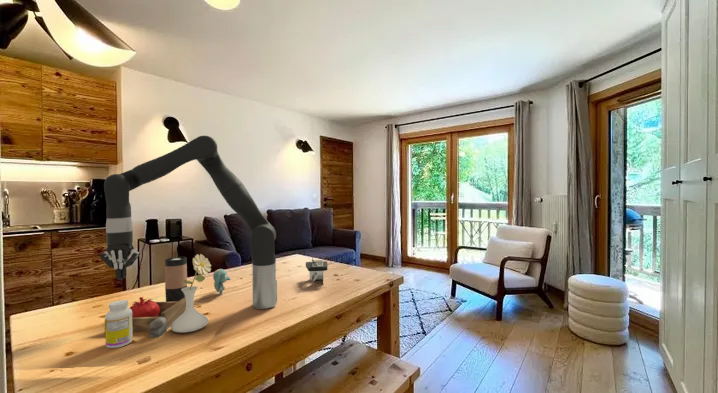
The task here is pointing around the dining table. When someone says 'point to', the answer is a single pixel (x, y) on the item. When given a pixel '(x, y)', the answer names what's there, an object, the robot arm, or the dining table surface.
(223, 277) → the teal character figurine
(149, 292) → the dining table surface
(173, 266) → the travel mug
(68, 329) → the dining table surface
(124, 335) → the supplement bottle
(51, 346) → the dining table surface
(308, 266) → the black-topped pedestal
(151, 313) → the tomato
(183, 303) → the brown wooden open box
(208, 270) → the flower in vase
